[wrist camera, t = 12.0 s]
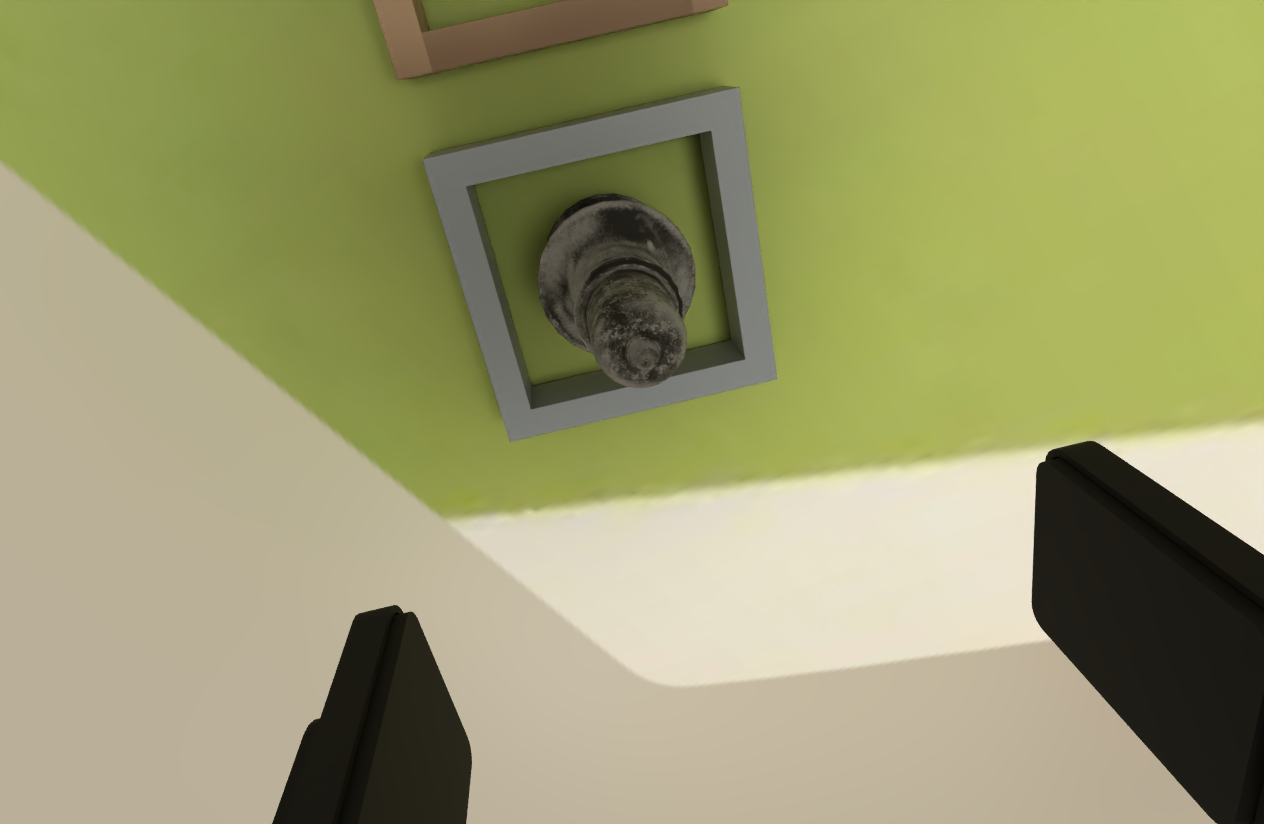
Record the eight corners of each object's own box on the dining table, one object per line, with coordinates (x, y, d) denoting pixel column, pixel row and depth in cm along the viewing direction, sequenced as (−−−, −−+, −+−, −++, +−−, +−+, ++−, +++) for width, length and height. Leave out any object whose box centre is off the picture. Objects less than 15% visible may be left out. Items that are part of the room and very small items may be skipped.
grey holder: (431, 152, 29) (422, 159, 26) (723, 85, 29) (739, 87, 27) (511, 416, 33) (509, 441, 31) (761, 358, 34) (777, 379, 31)
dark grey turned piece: (577, 349, 33) (597, 492, 22) (511, 226, 30) (496, 318, 19) (701, 290, 32) (784, 405, 21) (644, 159, 30) (706, 215, 19)
